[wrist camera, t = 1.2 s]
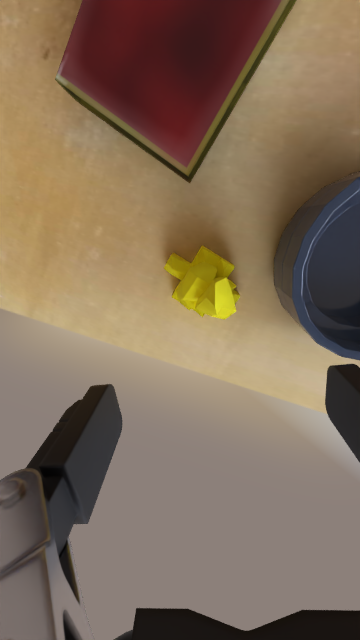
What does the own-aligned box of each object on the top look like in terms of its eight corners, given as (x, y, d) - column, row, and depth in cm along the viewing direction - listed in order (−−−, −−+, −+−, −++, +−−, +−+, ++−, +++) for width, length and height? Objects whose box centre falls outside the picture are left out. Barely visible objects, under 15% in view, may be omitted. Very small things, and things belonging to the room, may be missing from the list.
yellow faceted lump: (184, 233, 25) (177, 237, 18) (250, 275, 26) (269, 294, 19) (155, 283, 27) (140, 304, 20) (218, 319, 28) (225, 353, 21)
